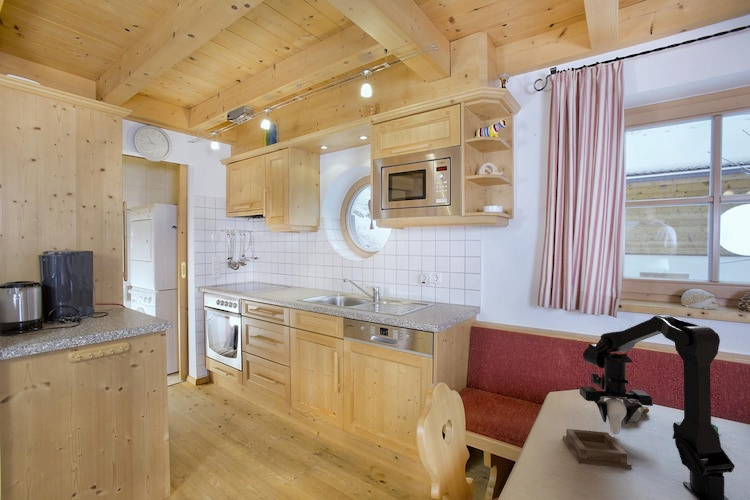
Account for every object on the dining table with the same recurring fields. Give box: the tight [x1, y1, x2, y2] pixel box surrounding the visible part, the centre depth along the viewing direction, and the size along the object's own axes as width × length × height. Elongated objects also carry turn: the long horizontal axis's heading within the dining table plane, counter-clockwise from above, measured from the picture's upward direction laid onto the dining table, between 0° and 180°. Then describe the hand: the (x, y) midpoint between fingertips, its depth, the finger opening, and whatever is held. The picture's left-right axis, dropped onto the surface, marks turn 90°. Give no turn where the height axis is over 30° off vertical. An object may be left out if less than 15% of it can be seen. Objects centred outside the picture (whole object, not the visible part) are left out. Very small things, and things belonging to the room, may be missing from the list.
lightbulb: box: [604, 398, 627, 435], centre depth 111 cm, size 6×6×11 cm
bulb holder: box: [562, 428, 633, 470], centre depth 102 cm, size 13×13×4 cm
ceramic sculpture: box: [618, 399, 650, 423], centre depth 125 cm, size 11×9×15 cm
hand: (614, 422), depth 111 cm, fingers closed on lightbulb, 5 cm apart
